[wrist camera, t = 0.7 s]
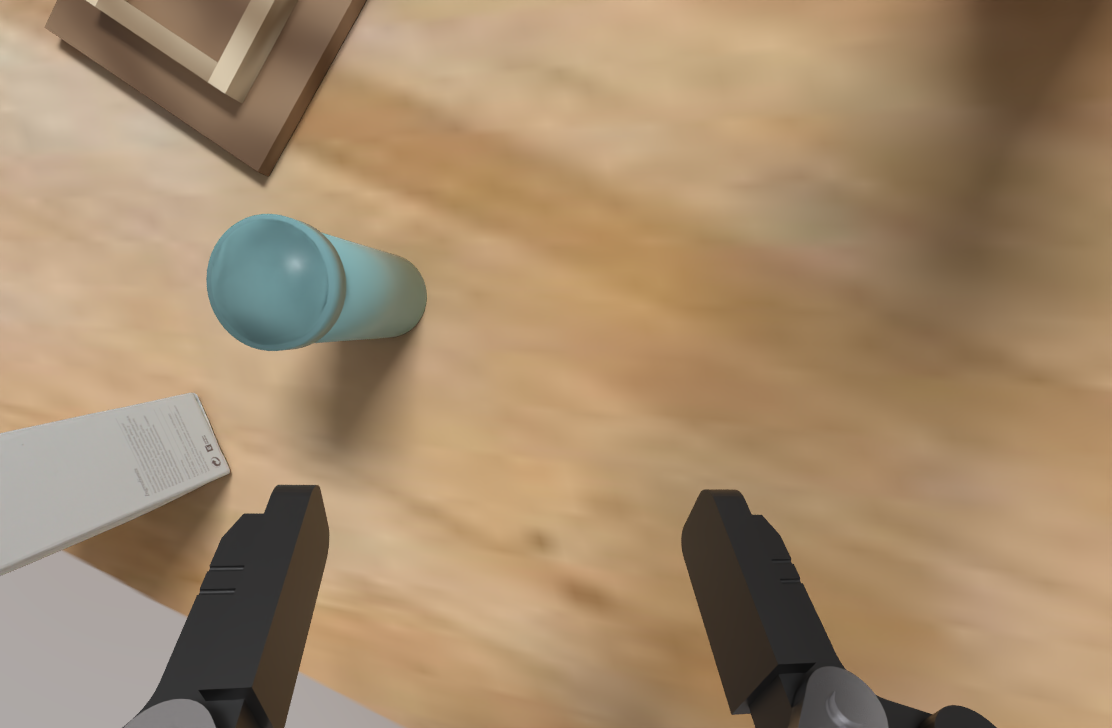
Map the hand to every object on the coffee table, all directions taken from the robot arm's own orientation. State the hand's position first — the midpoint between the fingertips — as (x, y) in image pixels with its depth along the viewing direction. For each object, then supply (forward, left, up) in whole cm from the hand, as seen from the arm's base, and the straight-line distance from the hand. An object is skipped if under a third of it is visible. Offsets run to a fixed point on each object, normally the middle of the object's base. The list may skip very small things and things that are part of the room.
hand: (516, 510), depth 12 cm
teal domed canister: (+2, -13, -20) cm, 24 cm away
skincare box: (+19, -20, -20) cm, 34 cm away
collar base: (-8, -31, -20) cm, 38 cm away
